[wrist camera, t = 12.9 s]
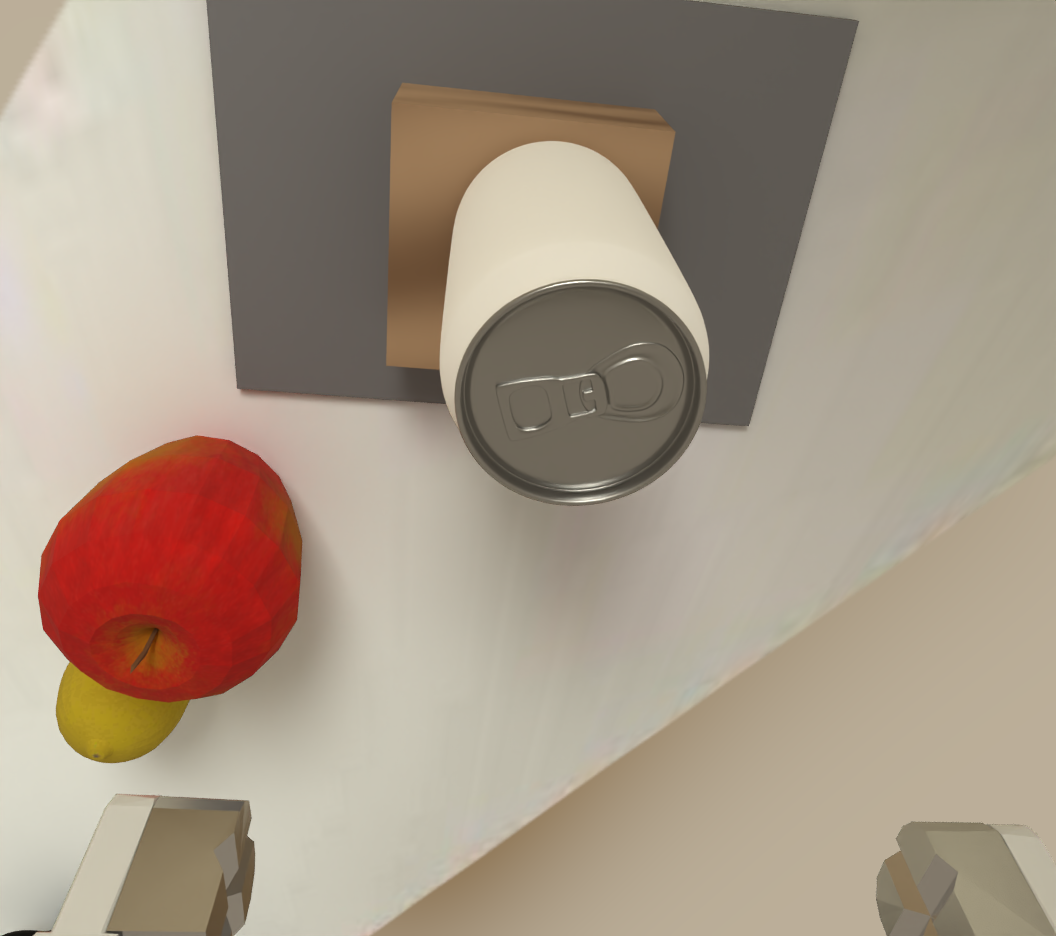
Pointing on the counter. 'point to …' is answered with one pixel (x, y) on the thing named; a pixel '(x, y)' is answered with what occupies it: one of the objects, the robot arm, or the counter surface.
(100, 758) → the lemon
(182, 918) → the robot arm
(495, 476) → the can
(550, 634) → the counter surface
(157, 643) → the apple
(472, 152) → the plinth
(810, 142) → the mat
